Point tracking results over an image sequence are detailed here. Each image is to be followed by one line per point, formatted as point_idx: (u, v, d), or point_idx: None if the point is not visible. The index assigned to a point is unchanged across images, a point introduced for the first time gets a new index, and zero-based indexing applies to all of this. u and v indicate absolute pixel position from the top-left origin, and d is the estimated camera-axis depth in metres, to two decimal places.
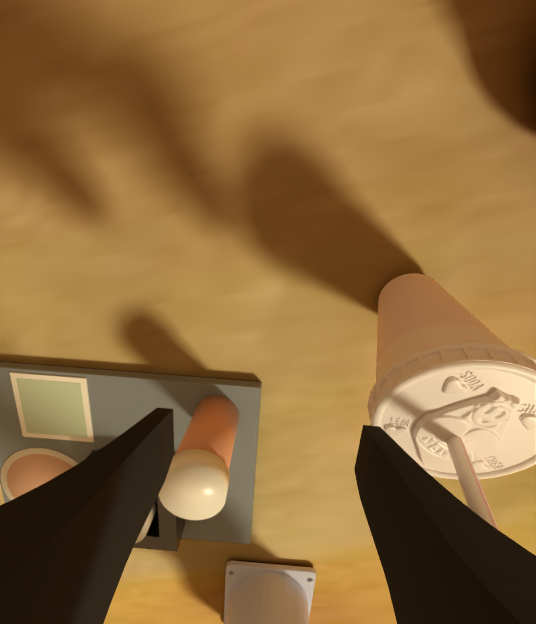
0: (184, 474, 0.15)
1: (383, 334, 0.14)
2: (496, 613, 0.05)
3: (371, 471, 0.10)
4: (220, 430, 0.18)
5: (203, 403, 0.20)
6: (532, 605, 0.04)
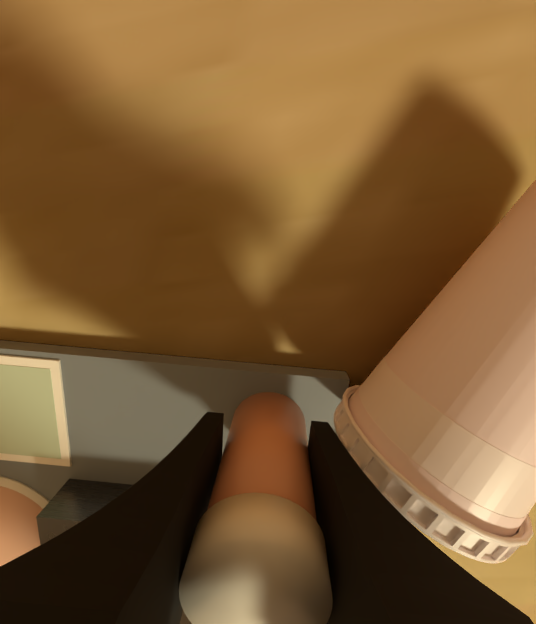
0: (242, 555, 0.06)
1: None
2: (374, 602, 0.05)
3: (313, 466, 0.10)
4: (292, 451, 0.09)
5: (249, 402, 0.12)
6: (408, 594, 0.05)
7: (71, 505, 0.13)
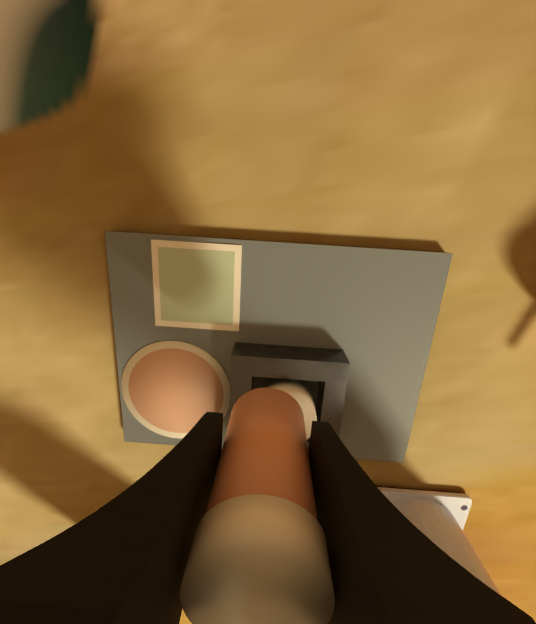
0: (244, 559, 0.06)
1: None
2: (377, 602, 0.05)
3: (314, 466, 0.10)
4: (291, 449, 0.09)
5: (247, 399, 0.12)
6: (411, 594, 0.05)
7: (249, 351, 0.18)
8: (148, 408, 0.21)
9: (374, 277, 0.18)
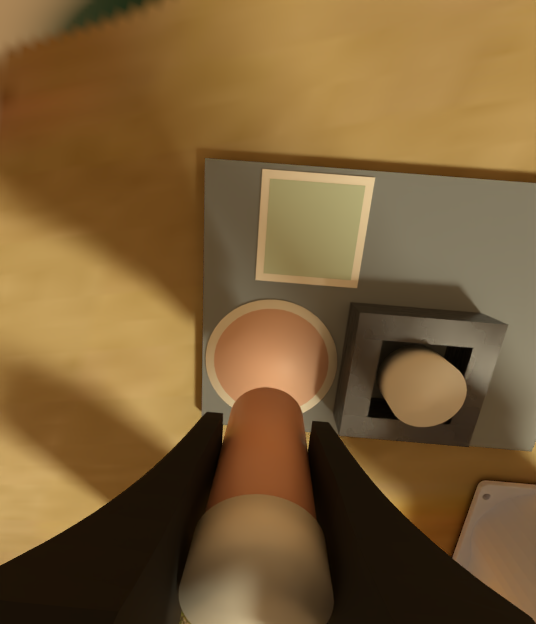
0: (243, 559, 0.06)
1: None
2: (377, 602, 0.05)
3: (315, 466, 0.10)
4: (291, 449, 0.09)
5: (246, 398, 0.12)
6: (411, 594, 0.05)
7: (377, 310, 0.15)
8: (235, 382, 0.17)
9: (533, 221, 0.14)
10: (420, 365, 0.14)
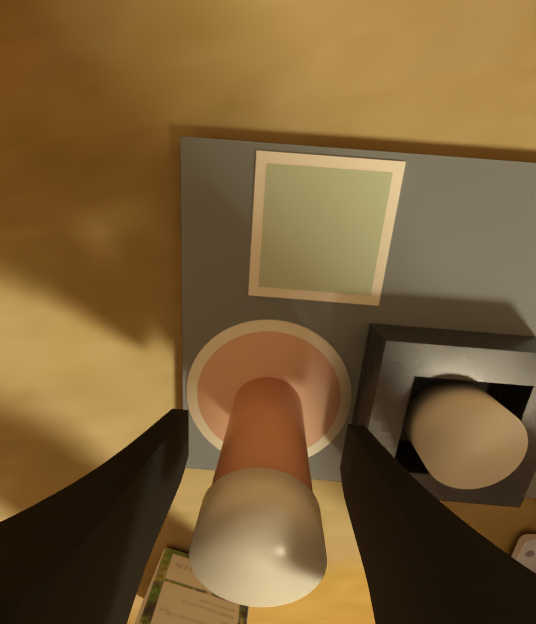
0: (246, 521, 0.07)
1: None
2: (460, 610, 0.05)
3: (354, 470, 0.10)
4: (289, 431, 0.10)
5: (249, 387, 0.13)
6: (495, 602, 0.05)
7: (407, 336, 0.11)
8: (224, 421, 0.14)
9: None
10: (467, 412, 0.10)
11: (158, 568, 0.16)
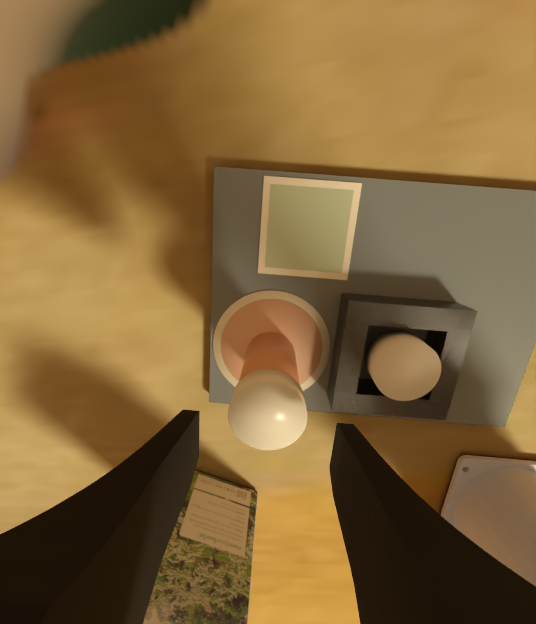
0: (261, 391, 0.13)
1: None
2: (434, 607, 0.05)
3: (342, 468, 0.10)
4: (286, 358, 0.16)
5: (258, 338, 0.18)
6: (470, 599, 0.05)
7: (364, 299, 0.17)
8: (239, 365, 0.20)
9: (500, 221, 0.17)
10: (400, 345, 0.16)
11: None
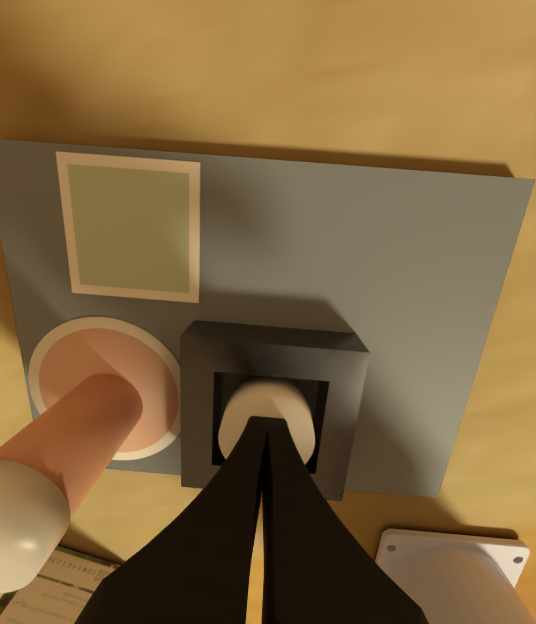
0: None
1: None
2: (273, 593, 0.05)
3: (265, 462, 0.10)
4: (77, 425, 0.10)
5: None
6: (306, 584, 0.05)
7: (211, 332, 0.11)
8: None
9: (408, 218, 0.11)
10: (250, 404, 0.11)
11: None
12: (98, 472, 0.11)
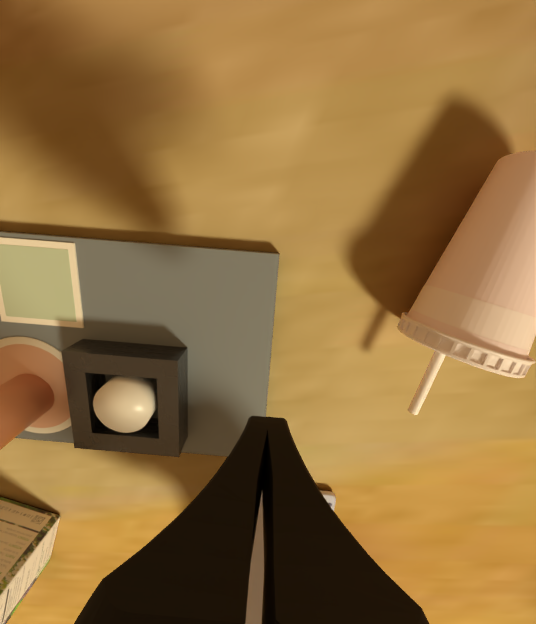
0: None
1: (511, 273, 0.13)
2: (273, 592, 0.05)
3: (265, 462, 0.10)
4: None
5: (8, 380, 0.20)
6: (306, 584, 0.05)
7: (85, 348, 0.18)
8: None
9: (207, 276, 0.18)
10: (108, 386, 0.18)
11: None
12: (10, 433, 0.17)
